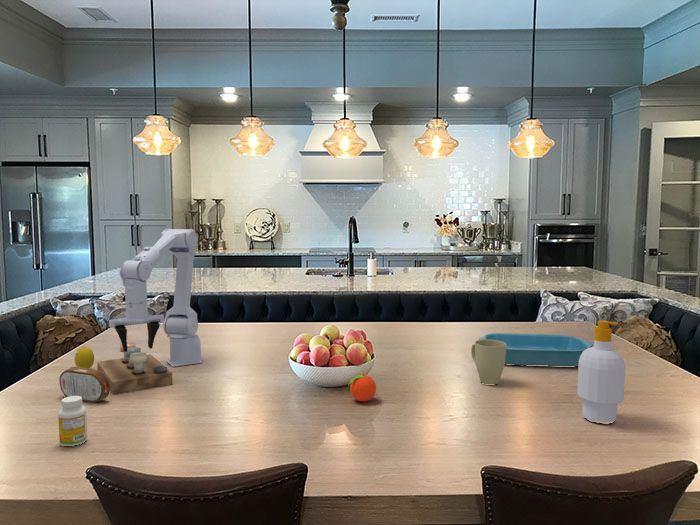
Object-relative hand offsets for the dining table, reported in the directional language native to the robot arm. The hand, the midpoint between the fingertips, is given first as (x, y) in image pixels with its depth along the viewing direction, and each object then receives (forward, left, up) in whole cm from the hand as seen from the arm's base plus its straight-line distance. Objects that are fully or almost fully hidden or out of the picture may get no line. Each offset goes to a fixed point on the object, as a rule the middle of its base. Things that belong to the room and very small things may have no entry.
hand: (138, 349), depth 157 cm
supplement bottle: (+21, +33, -11) cm, 41 cm away
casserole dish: (-118, +45, -11) cm, 127 cm away
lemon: (+11, -23, -11) cm, 28 cm away
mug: (-86, +53, -11) cm, 102 cm away
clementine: (-46, +46, -11) cm, 66 cm away
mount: (0, -7, -10) cm, 13 cm away
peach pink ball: (0, -14, -7) cm, 15 cm away
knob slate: (0, -7, -7) cm, 10 cm away
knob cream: (0, 0, -7) cm, 7 cm away
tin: (+15, +5, -11) cm, 19 cm away
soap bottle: (-87, +88, -11) cm, 124 cm away
